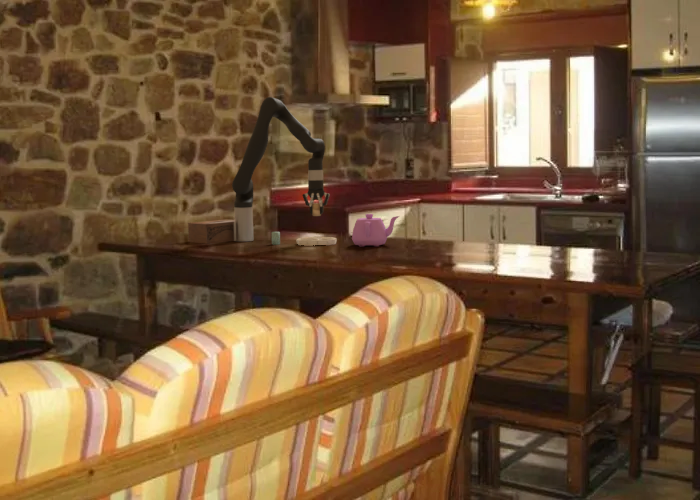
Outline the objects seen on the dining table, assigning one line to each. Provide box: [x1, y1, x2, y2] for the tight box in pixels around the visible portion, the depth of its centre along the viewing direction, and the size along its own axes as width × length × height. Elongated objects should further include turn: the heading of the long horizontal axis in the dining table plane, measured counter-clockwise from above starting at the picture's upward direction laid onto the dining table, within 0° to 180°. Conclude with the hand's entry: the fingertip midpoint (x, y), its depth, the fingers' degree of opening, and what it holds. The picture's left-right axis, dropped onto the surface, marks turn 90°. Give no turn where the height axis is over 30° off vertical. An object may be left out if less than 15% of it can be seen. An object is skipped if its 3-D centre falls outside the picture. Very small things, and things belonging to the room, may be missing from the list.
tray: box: [296, 236, 338, 247], centre depth 459 cm, size 19×19×2 cm
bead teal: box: [271, 231, 281, 246], centre depth 460 cm, size 4×4×6 cm
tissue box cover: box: [187, 219, 235, 245], centre depth 484 cm, size 26×14×10 cm, turn 137°
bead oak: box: [312, 202, 322, 217], centre depth 462 cm, size 4×4×6 cm
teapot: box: [351, 213, 400, 247], centre depth 445 cm, size 23×21×15 cm
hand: (316, 214), depth 463 cm, fingers closed on bead oak, 4 cm apart
